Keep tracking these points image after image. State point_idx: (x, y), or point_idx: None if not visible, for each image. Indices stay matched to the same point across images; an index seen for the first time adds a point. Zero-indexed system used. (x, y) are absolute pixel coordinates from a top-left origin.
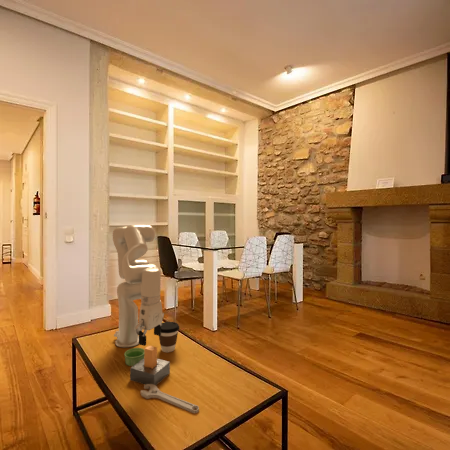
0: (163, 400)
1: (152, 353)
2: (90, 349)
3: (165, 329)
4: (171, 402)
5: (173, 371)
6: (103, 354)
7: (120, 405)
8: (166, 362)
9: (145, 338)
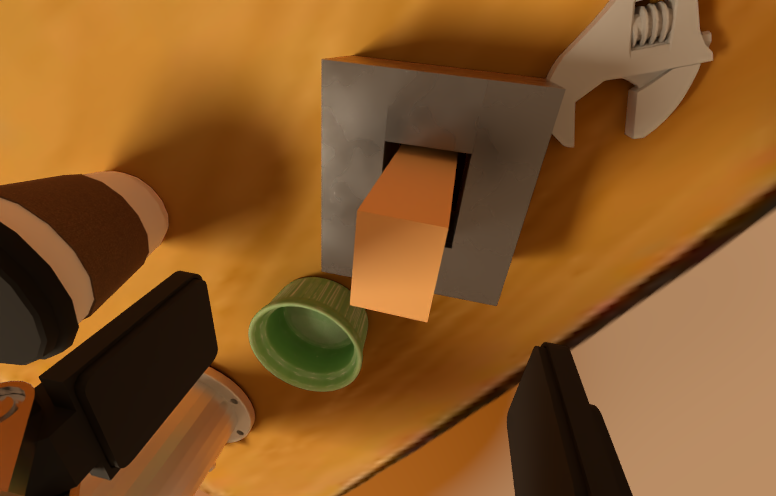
0: None
1: (447, 212)
2: (321, 482)
3: (16, 292)
4: None
5: (319, 40)
6: (330, 439)
7: (771, 193)
8: (343, 84)
9: (604, 456)
